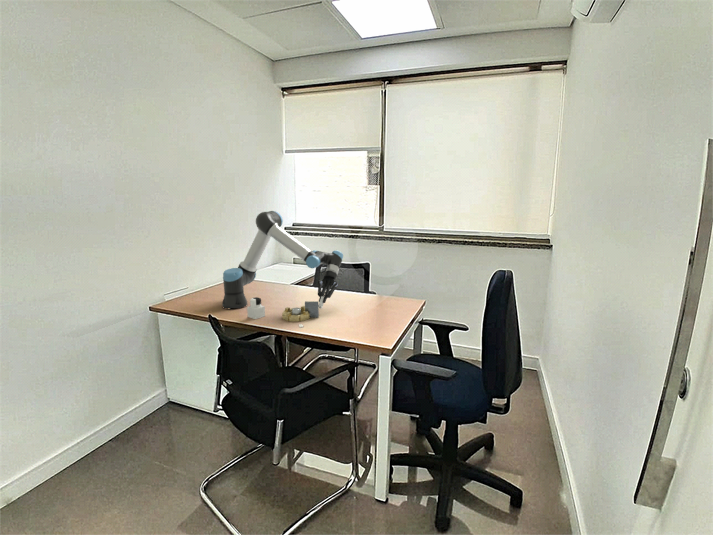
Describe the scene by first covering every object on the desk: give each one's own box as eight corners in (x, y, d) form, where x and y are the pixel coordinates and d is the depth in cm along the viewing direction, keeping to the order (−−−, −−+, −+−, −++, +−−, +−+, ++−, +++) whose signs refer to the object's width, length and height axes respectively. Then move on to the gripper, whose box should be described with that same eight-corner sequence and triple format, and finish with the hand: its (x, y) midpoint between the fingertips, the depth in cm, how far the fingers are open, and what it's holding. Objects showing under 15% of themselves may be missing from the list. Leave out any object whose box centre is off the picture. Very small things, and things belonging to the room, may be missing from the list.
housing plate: (273, 323, 205) (272, 313, 204) (286, 312, 224) (285, 303, 223) (308, 326, 201) (307, 315, 200) (318, 314, 221) (318, 304, 220)
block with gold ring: (280, 321, 205) (279, 305, 203) (285, 312, 220) (285, 298, 218) (317, 321, 205) (316, 305, 203) (319, 312, 220) (319, 298, 218)
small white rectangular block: (298, 327, 200) (298, 324, 200) (302, 326, 201) (302, 324, 200) (299, 329, 196) (299, 326, 196) (303, 329, 197) (303, 326, 197)
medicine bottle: (257, 315, 219) (256, 295, 217) (265, 318, 215) (264, 298, 212) (247, 318, 214) (246, 298, 211) (255, 321, 209) (253, 300, 207)
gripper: (342, 277, 229) (332, 311, 217) (323, 275, 234) (312, 309, 222) (339, 270, 223) (328, 305, 211) (319, 269, 228) (307, 303, 216)
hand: (320, 307), depth 216 cm, fingers closed
